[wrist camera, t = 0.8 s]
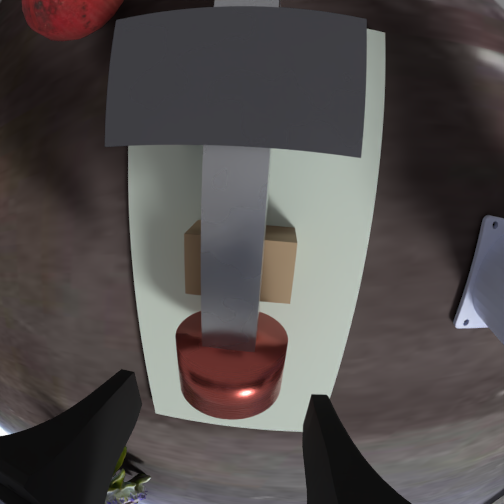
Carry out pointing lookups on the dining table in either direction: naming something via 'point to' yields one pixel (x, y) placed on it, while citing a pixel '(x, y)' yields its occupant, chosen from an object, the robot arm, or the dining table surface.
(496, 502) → the plate stack
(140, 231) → the board
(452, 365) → the dining table surface
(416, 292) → the dining table surface
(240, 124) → the block
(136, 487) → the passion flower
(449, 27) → the dining table surface
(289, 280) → the brown rectangular block
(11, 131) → the dining table surface
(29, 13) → the red kuri squash
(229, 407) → the rod
